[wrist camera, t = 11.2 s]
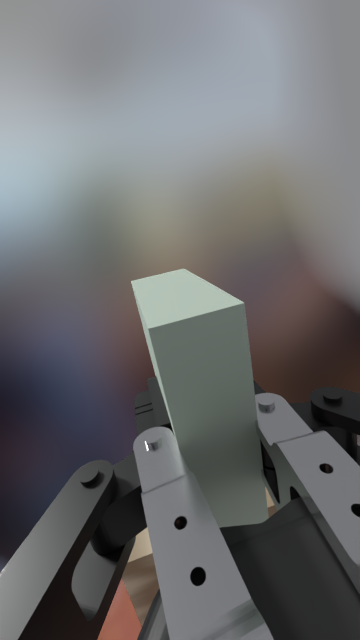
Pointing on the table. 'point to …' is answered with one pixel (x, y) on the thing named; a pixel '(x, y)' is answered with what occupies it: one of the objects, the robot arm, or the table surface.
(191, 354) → the tile
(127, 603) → the table surface
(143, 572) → the tan flat rectangular block
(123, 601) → the table surface
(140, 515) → the robot arm
